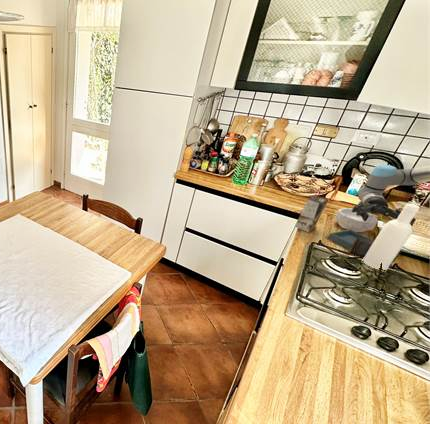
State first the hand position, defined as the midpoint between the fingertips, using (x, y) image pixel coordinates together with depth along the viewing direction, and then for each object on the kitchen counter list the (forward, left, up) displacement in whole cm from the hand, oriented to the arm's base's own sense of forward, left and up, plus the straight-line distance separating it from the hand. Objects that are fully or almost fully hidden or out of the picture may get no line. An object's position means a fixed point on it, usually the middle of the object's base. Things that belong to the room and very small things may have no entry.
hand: (387, 222), depth 128 cm
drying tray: (+9, -5, -17) cm, 20 cm away
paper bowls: (+20, -21, -18) cm, 34 cm away
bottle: (-6, +7, -18) cm, 20 cm away
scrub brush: (-2, +2, -17) cm, 18 cm away
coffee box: (+27, +2, -18) cm, 32 cm away
